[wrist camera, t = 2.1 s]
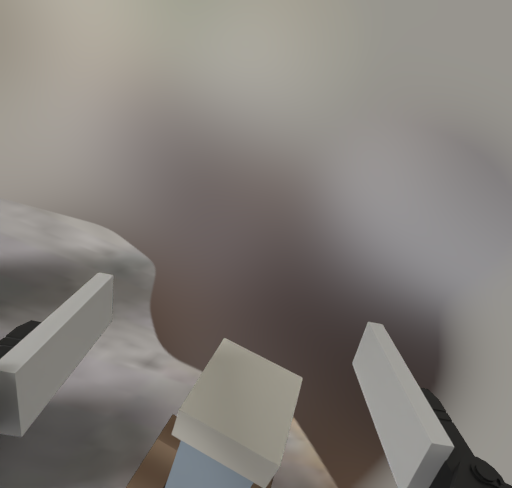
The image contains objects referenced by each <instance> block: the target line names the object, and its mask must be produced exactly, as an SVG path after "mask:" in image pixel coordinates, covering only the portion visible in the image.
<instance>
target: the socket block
mask: <svg viewBox="0 0 512 488" xmlns="http://www.w3.org/2000/svg"><path fill="white" fill-rule="evenodd" d="M176 418H177V416H175V415H172V416H171V418H170V420H169V421H168V423H167V424H166V426H165V427H164V429H163V430H162V432H161V434H160V435H159V437H158V438H157V440H156V441H155V443H154V444H153V446H152V448H151V449H150V451H149V452H148V454H147V455H146V457H145V459H144V460H143V462H142V463H141V465H140V466H139V468H138V469H137V471H136V473H135V474H134V476H133V477H132V479H131V480H130V482H129V483H128V485H127V487H126V488H165V486H166V483H167V480H168V477H169V474H170V471H171V468H172V465H173V462H174V459H175V456H176V453H177V450H178V448H179V445H180V442H181V440H180V439H178V438H176V437H175V436H173V435H171V434H172V431H173V428H174V425H175V421H176ZM273 477H274V476H273ZM272 481H273V478H272V479H271V481H270V482H269V484H268V485H267V486H266V488H271V485H272ZM251 488H262V487H260V486H259V485H257V484H255V483H253V484H252V486H251Z"/></svg>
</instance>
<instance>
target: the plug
mask: <svg viewBox="0 0 512 488" xmlns="http://www.w3.org/2000/svg"><path fill="white" fill-rule="evenodd" d="M302 379H303V378H302V377H300V376H298V375H296V374H294V373H292V372H290V371H288V370H286V369H284V368H282V367H281V366H279V365H277V364H275V363H273V362H271V361H269V360H267V359H265V358H263V357H261V356H259V355H257V354H255V353H253V352H251V351H249V350H247V349H245V348H243V347H242V346H240V345H238V344H236V343H234V342H232V341H230V340H228V339H226V338H224V339H223V341H222V342H221V344H220V346H219V347H218V349H217V350H216V352H215V354H214V355H213V357H212V358H211V360H210V361H209V363H208V365H207V366H206V368H205V369H204V371H203V372H202V374H201V376H200V377H199V379H198V380H197V382H196V384H195V385H194V387H193V388H192V390H191V391H190V393H189V395H188V396H187V398H186V399H185V401H184V403H183V404H182V406H181V407H180V409H179V412H178V415H177V418H176V421H175V425H174V428H173V431H172V434H171V435H173V436H175V437H176V438H178V439H180V440H181V442H180V445H179V448H178V450H177V453H176V456H175V459H174V462H173V465H172V468H171V471H170V474H169V477H168V480H167V483H166V486H165V488H251V486H252V484H253V483H255V484H257V485H259V486H260V487H262V488H266V486H267V485H268V484H269V482H270V481H271V479H272V478H273V476H274V475H275V473H276V472H277V470H278V469H279V467H280V465H281V461H282V457H283V454H284V450H285V446H286V442H287V438H288V434H289V430H290V426H291V422H292V418H293V414H294V411H295V407H296V403H297V398H298V395H299V391H300V387H301V383H302Z"/></svg>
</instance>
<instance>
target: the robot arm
mask: <svg viewBox="0 0 512 488" xmlns="http://www.w3.org/2000/svg"><path fill="white" fill-rule="evenodd" d="M113 282H114V275H110V274H105V273H99V272H98V273H97V274H96V275H95V276H94V277H92V278H91V279H90V280H89V281H88V282H87V283H86V284H85V285H83V286H82V287H81V288H80V289H79V290H78V291H77V292H76V293H74V294H73V295H72V296H71V297H70V298H69V299H68V300H66V301H65V302H64V303H63V304H62V305H61V306H60V307H59V308H57V309H56V310H55V311H54V312H53V313H52V314H51V315H50V316H48V317H47V318H46V319H45V320H44V321H43V322H37V321H29V322H27V323H25V324H23V325H20V326H18V327H16V328H15V329H14V330H13V331H11V332H10V333H9V334H8V335H7V336H6V337H5V338H3V339H2V340H0V434H4V435H10V436H16V437H22V436H23V435H24V433H25V432H26V431H27V430H28V428H29V427H30V426H31V425H32V423H33V422H34V421H35V419H36V418H37V417H38V416H39V414H40V413H41V412H42V410H43V409H44V408H45V407H46V405H47V404H48V403H49V401H50V400H51V399H52V398H53V396H54V395H55V394H56V392H57V391H58V390H59V389H60V387H61V386H62V385H63V383H64V382H65V381H66V380H67V378H68V377H69V376H70V374H71V373H72V372H73V371H74V369H75V368H76V367H77V365H78V364H79V363H80V362H81V360H82V359H83V358H84V356H85V355H86V354H87V353H88V351H89V350H90V349H91V347H92V346H93V345H94V344H95V342H96V341H97V340H98V339H99V337H100V336H101V335H102V333H103V332H104V331H105V330H106V328H107V327H108V326H109V324H110V323H111V322H112V309H113ZM352 364H353V367H354V370H355V373H356V375H357V378H358V381H359V384H360V386H361V389H362V391H363V394H364V397H365V400H366V402H367V405H368V408H369V411H370V414H371V416H372V419H373V422H374V425H375V427H376V430H377V433H378V436H379V438H380V441H381V444H382V446H383V449H384V452H385V455H386V457H387V460H388V463H389V465H390V468H391V471H392V474H393V476H394V479H395V482H396V485H397V487H398V488H512V486H511V485H509V484H506V483H505V482H504V481H503V479H502V477H501V476H500V475H499V474H498V472H497V471H496V470H495V469H494V468H493V467H492V466H490V465H489V464H488V463H487V462H485V461H483V460H481V459H480V458H478V457H475V456H474V455H473V453H472V452H471V450H470V448H469V447H468V445H467V444H466V442H465V441H464V439H463V437H462V436H461V434H460V433H459V431H458V429H457V428H456V426H455V425H454V423H452V420H451V418H450V417H449V415H448V414H447V413H446V410H445V409H444V407H443V406H442V404H441V402H440V401H439V400H438V399H437V398H436V397H435V396H434V395H433V394H432V393H431V392H430V391H429V390H428V389H424V388H420V387H419V386H418V384H417V382H416V381H415V379H414V377H413V375H412V374H411V372H410V370H409V369H408V367H407V365H406V364H405V362H404V360H403V358H402V357H401V355H400V353H399V352H398V350H397V348H396V347H395V345H394V343H393V342H392V340H391V338H390V337H389V335H388V333H387V332H386V330H385V328H384V326H383V325H382V324H378V323H372V322H368V323H367V326H366V329H365V331H364V334H363V337H362V339H361V342H360V344H359V347H358V350H357V352H356V355H355V358H354V360H353V363H352Z"/></svg>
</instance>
